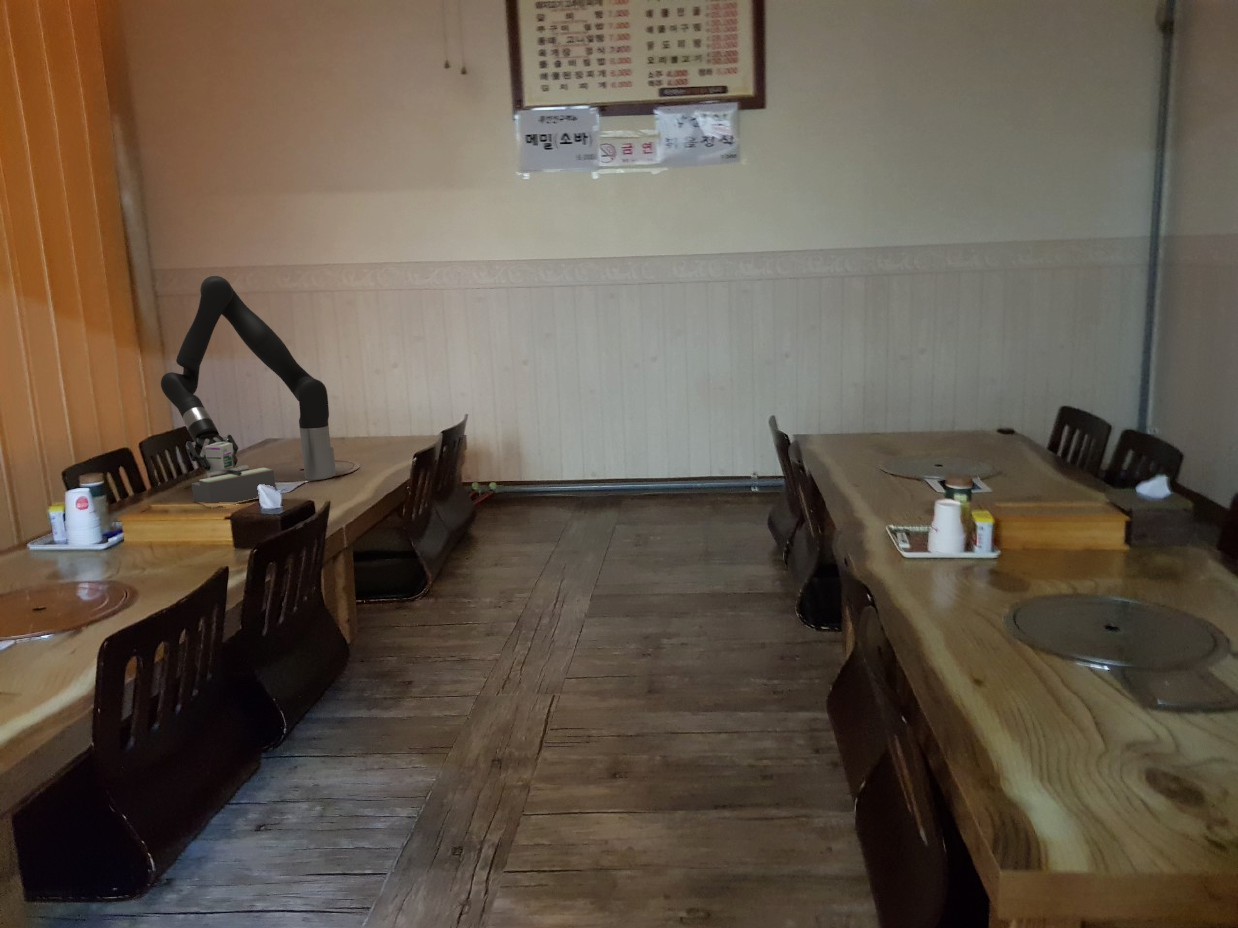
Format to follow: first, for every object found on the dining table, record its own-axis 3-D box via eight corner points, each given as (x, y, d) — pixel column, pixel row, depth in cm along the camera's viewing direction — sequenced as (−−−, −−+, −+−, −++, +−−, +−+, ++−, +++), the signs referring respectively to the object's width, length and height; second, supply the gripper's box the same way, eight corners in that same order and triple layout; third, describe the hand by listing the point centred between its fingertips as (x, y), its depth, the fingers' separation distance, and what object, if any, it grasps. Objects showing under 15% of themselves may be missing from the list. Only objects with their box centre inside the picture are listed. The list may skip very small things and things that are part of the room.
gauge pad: (248, 491, 302) (245, 464, 300) (262, 494, 296) (259, 467, 295) (210, 499, 293) (207, 472, 292) (223, 502, 288) (220, 475, 286)
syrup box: (226, 493, 297) (222, 445, 294) (208, 492, 298) (204, 445, 295) (237, 489, 302) (233, 442, 299) (220, 488, 303) (215, 441, 300)
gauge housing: (255, 490, 307) (252, 465, 306) (276, 495, 299) (273, 469, 297) (192, 503, 293) (188, 477, 291) (211, 509, 285) (208, 482, 283)
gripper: (179, 421, 296) (201, 463, 290) (225, 414, 306) (247, 455, 301) (174, 436, 300) (196, 478, 295) (219, 429, 311) (241, 470, 305)
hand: (222, 466), depth 298 cm, fingers closed on syrup box, 8 cm apart
